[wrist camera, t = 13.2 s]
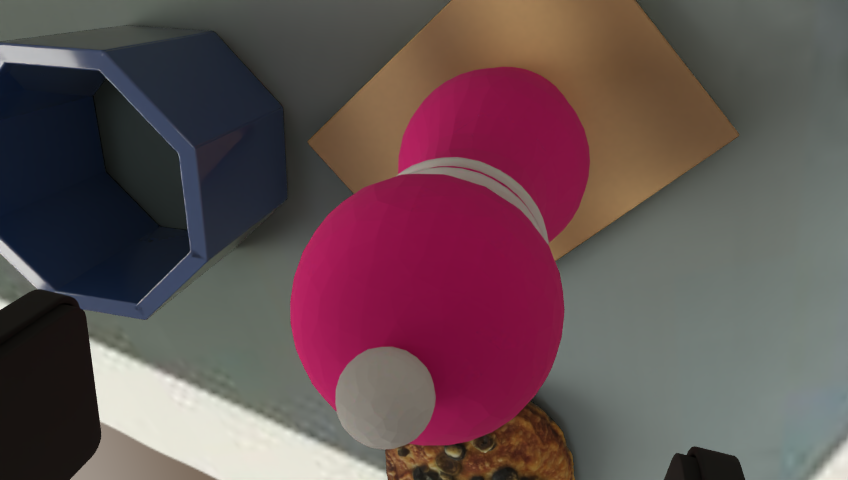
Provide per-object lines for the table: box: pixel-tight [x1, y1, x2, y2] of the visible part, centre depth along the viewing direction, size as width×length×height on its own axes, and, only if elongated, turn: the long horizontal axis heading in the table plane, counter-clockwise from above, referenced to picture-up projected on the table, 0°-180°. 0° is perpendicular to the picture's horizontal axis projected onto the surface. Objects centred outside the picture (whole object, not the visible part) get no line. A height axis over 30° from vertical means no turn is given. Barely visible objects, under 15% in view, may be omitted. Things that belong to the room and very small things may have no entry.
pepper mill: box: [290, 67, 590, 450], centre depth 19 cm, size 7×7×20 cm
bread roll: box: [385, 401, 575, 480], centre depth 36 cm, size 11×11×5 cm
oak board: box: [307, 0, 739, 261], centre depth 29 cm, size 15×12×1 cm
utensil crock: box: [0, 25, 288, 320], centre depth 30 cm, size 12×12×8 cm
